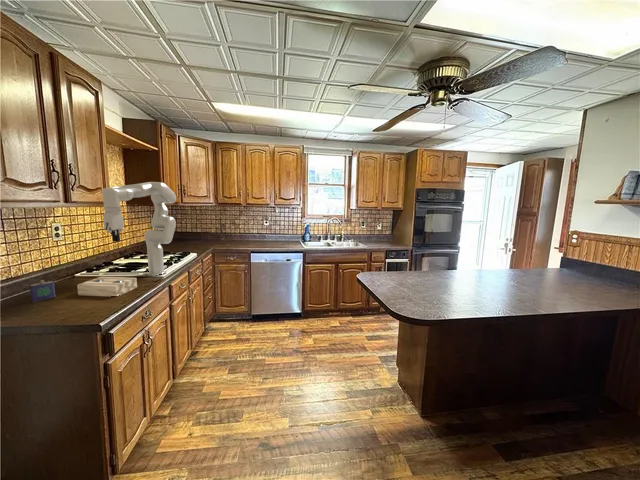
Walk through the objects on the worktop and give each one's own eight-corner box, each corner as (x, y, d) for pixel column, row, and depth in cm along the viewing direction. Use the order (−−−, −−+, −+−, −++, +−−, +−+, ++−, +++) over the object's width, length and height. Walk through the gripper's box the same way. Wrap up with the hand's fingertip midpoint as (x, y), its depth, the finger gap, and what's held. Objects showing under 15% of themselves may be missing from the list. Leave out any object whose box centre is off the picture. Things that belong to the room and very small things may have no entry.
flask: (54, 296, 148) (52, 277, 147) (56, 297, 147) (54, 278, 145) (30, 302, 140) (28, 281, 138) (33, 303, 139) (30, 282, 137)
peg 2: (118, 289, 160) (117, 280, 159) (124, 289, 160) (123, 280, 159) (113, 291, 157) (112, 282, 156) (119, 291, 157) (118, 282, 156)
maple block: (102, 285, 167) (101, 276, 166) (137, 287, 166) (136, 277, 165) (78, 295, 151) (77, 284, 150) (116, 296, 151) (116, 286, 150)
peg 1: (98, 288, 161) (97, 279, 160) (104, 288, 161) (103, 279, 160) (93, 290, 157) (92, 281, 156) (99, 290, 157) (98, 281, 156)
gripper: (116, 208, 164) (119, 238, 167) (95, 211, 149) (99, 243, 153) (128, 209, 164) (131, 239, 167) (109, 211, 149) (113, 244, 153)
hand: (116, 241), depth 160 cm, fingers closed
